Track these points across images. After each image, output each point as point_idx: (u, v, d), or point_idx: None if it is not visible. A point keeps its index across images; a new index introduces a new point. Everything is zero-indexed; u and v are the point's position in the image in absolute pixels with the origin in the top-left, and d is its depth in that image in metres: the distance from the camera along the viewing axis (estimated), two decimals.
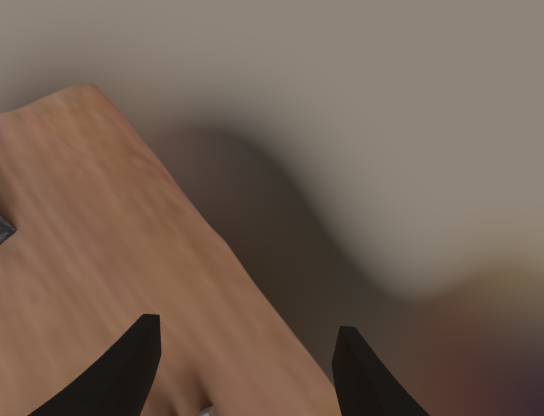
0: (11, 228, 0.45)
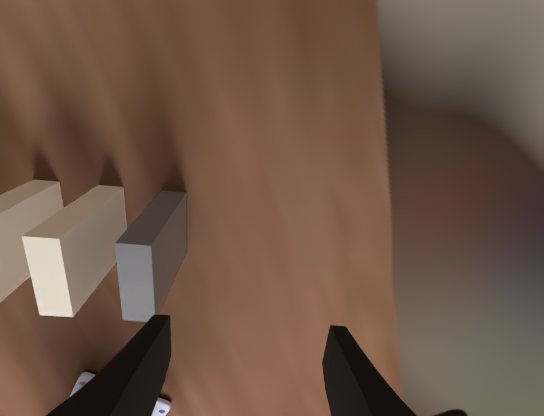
0: None
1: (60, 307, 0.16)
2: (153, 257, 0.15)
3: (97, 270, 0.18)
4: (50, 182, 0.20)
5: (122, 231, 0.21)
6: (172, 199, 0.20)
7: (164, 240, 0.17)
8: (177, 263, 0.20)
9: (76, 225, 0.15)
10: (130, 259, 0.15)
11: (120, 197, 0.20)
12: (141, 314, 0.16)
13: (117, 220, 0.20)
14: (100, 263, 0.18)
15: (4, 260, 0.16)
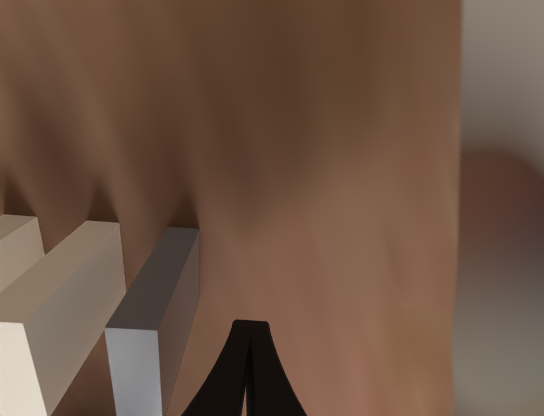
0: None
1: (29, 408, 0.11)
2: (159, 343, 0.10)
3: (84, 341, 0.14)
4: (25, 218, 0.16)
5: (118, 278, 0.17)
6: (182, 241, 0.15)
7: (174, 308, 0.12)
8: (189, 322, 0.15)
9: (51, 293, 0.11)
10: (127, 348, 0.10)
11: (114, 237, 0.16)
12: (143, 415, 0.11)
13: (112, 266, 0.16)
14: (88, 330, 0.14)
15: None
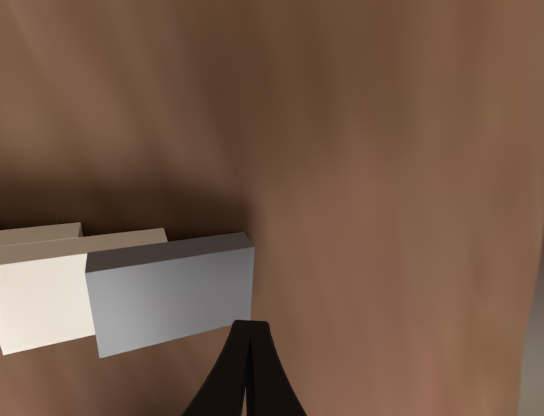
0: None
1: None
2: (92, 287, 0.13)
3: (73, 323, 0.15)
4: (71, 233, 0.15)
5: None
6: (222, 245, 0.15)
7: (143, 281, 0.13)
8: (201, 322, 0.16)
9: (20, 262, 0.13)
10: None
11: None
12: None
13: None
14: (83, 317, 0.15)
15: None
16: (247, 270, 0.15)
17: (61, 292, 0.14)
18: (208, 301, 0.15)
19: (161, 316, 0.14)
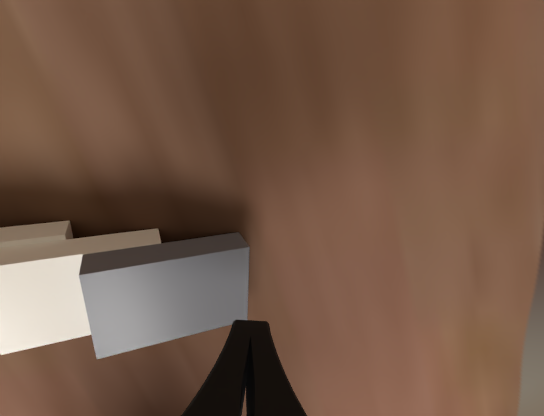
0: None
1: None
2: (86, 289, 0.13)
3: (68, 323, 0.15)
4: (59, 231, 0.15)
5: None
6: (217, 246, 0.15)
7: (137, 283, 0.14)
8: (198, 323, 0.16)
9: (14, 263, 0.13)
10: None
11: None
12: None
13: None
14: (78, 317, 0.15)
15: None
16: (242, 270, 0.16)
17: (56, 293, 0.14)
18: (204, 302, 0.15)
19: (157, 317, 0.15)
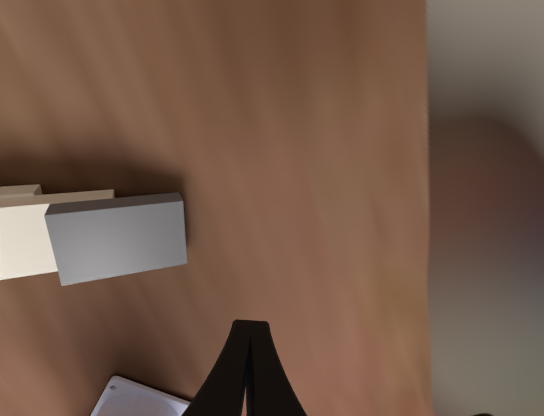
0: None
1: None
2: (51, 227, 0.17)
3: (40, 260, 0.19)
4: (29, 190, 0.19)
5: None
6: (157, 200, 0.19)
7: (91, 225, 0.18)
8: (144, 262, 0.20)
9: None
10: None
11: None
12: None
13: None
14: (48, 256, 0.19)
15: None
16: (179, 220, 0.20)
17: (29, 234, 0.18)
18: (148, 244, 0.19)
19: (109, 254, 0.19)
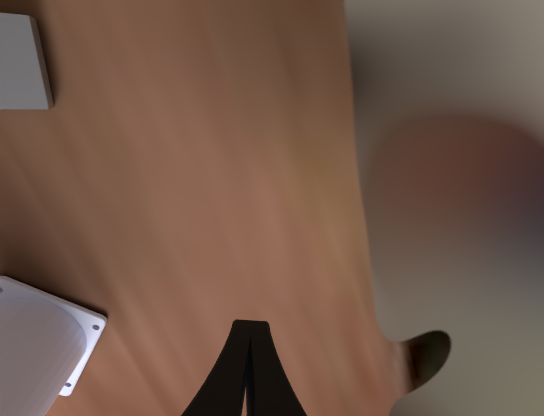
0: None
1: None
2: None
3: None
4: None
5: None
6: None
7: None
8: None
9: None
10: None
11: None
12: None
13: None
14: None
15: None
16: (27, 44, 0.16)
17: None
18: None
19: None
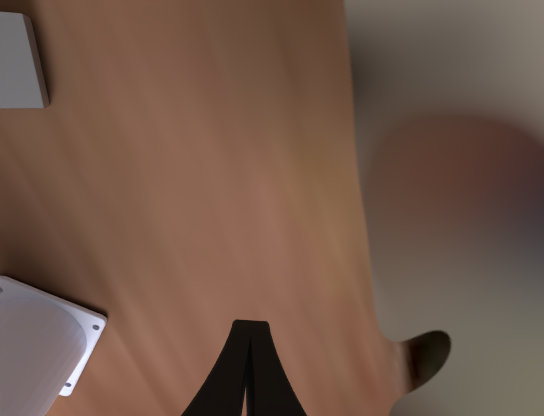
0: None
1: None
2: None
3: None
4: None
5: None
6: None
7: None
8: None
9: None
10: None
11: None
12: None
13: None
14: None
15: None
16: (21, 42, 0.16)
17: None
18: None
19: None
